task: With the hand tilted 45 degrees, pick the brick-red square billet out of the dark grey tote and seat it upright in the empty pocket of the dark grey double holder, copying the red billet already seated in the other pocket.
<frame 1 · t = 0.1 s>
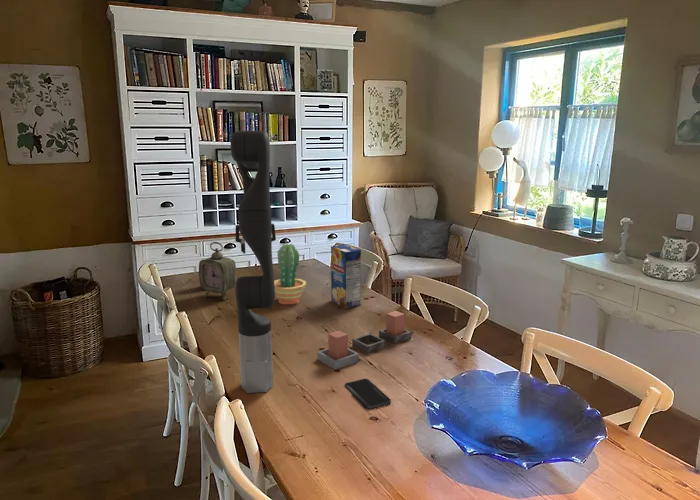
hand: (256, 252, 193), 29 cm above the table, tool pointing down, fingers open, 8 cm apart
tote: (338, 361, 172), on the table
potted cactus: (289, 301, 230), on the table
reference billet: (394, 337, 187), point 1 cm above the table, touching dark grey double holder
phone: (367, 396, 151), on the table
dark grey double holder: (382, 346, 184), on the table
juice carton: (345, 303, 228), on the table
billet: (338, 360, 172), resting on tote
tabletop clock: (220, 297, 236), on the table
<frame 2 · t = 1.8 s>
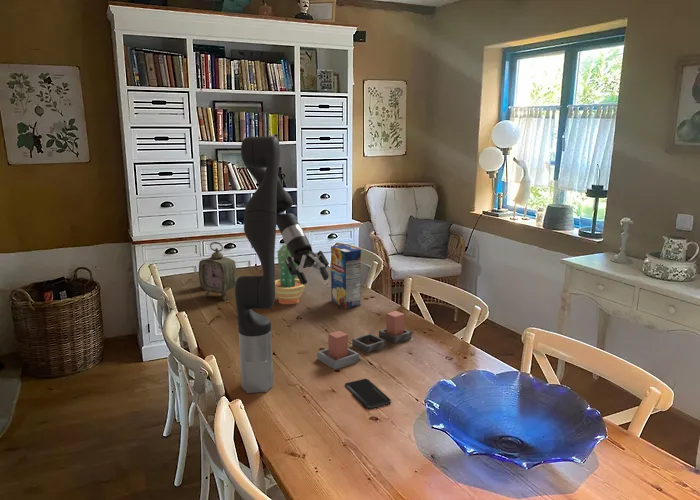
hand: (316, 281, 175), 24 cm above the table, tool tilted 45°, fingers open, 8 cm apart
nothing on the table moved.
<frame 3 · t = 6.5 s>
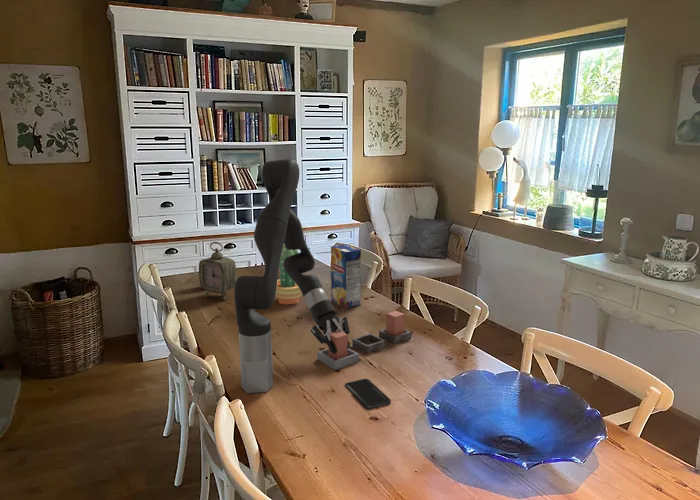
hand: (341, 350, 170), 4 cm above the table, tool tilted 45°, fingers closed on billet, 4 cm apart
billet: (338, 360, 172), resting on tote, touching gripper
everything else where it was.
when the fingers open (7 cm above the table, at t = 12.6 s): billet stays where it is, resting on dark grey double holder.
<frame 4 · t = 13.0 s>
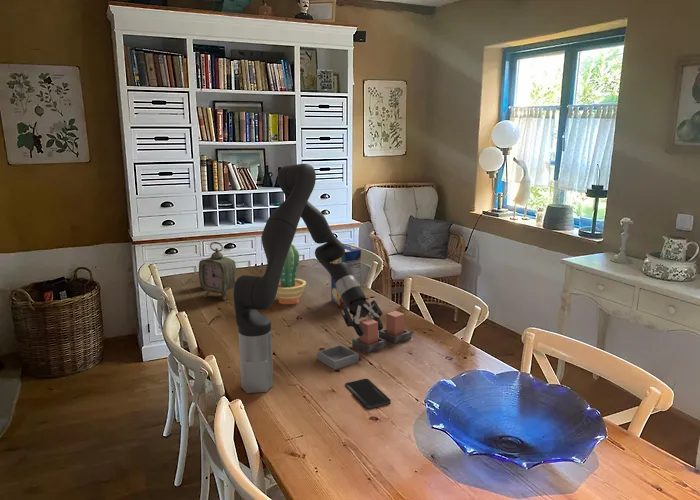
hand: (371, 332, 177), 7 cm above the table, tool tilted 45°, fingers open, 8 cm apart
billet: (368, 346, 180), point 1 cm above the table, touching dark grey double holder
everything else where it was.
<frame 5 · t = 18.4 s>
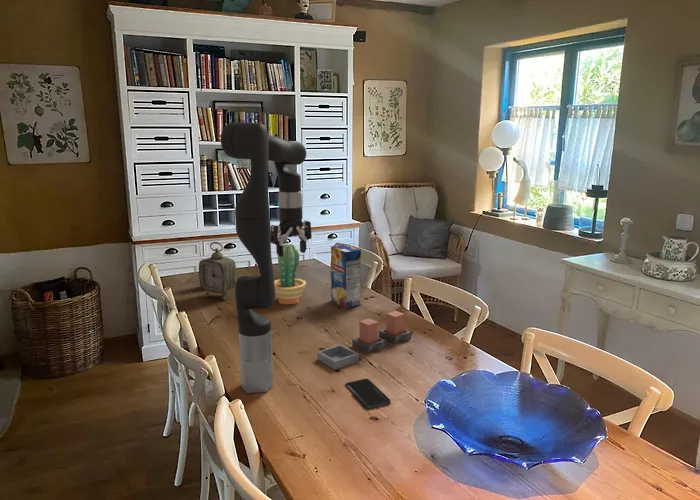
hand: (291, 254, 175), 33 cm above the table, tool pointing down, fingers open, 8 cm apart
nothing on the table moved.
at the end: billet 0.1 cm from the target spot on the dark grey double holder, point 1.5 cm above the dark grey double holder's base; billet tilted 0°; the gripper is holding nothing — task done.
